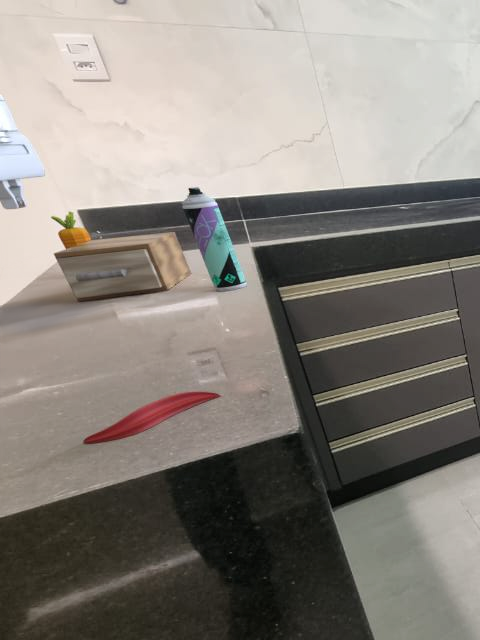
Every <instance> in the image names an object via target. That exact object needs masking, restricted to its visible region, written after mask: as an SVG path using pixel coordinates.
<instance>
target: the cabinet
mask: <svg viewBox="0 0 480 640" xmlns="http://www.w3.org/2000/svg"><path fill="white" fill-rule="evenodd" d="M135 249H147V252H148V254H149V256H150V259H151V261H152V263H153V266H154V268H155V270H156V272H157V275H158V277H159V279H160V282H161V284H162V287H160V288H152V289H145V290H137V291H129V292H122V293H114V294H106V295H98V296H91V297H83V298H76V296H75V294H74V292H73V290H72V288H71V286H70V284H69V282H68V280H67V278H66V276H65V275H64V277H65V279H66V281H67V283H68V286H69V287H70V289H71V291H72V293H73V295H74V297H75V299H76V302H78V303H80V302H86V301H87V302H88V301H95V300H102V299H108V298H109V299H110V297H111V298H118V297H117V296H119V297H124V296H123V295H126V296H132V295H131V294H134V295H141V294H140V293H142V294H149V293H156V292H164V291H169V290H171V289H172V288H173V287H175V286H176V285H178V284H179V283H180V282H182V281H184V280H185V279H187V278H188V277H189V276H190V275H192V272H191V271H192V270H191V269H190V267H189V264H188V261H187V259H186V257H185V254H184V252H183V248H182V247H181V245H180V242H179V239H178V237H177V234H176V232H175V231H171V232H170V231H169V232H160V233H150V234H139V235H131V236H121V237H109V238H101V239H91V241H88V242H86V243H83V244H80V245H77V246H74V247H71V248H68V249H66V248H65V249H63V250H60V251H57V252H54V253H53V256H54V257H55V259H56V261H57V259H59V258H64V257H72V256H79V255H89V254H98V253H107V252H117V251H126V250H135ZM57 263H58V261H57ZM187 276H188V277H187ZM184 278H185V279H184ZM181 280H182V281H181ZM179 281H180V282H179ZM178 282H179V283H178ZM175 284H176V285H175ZM174 285H175V286H174ZM171 287H172V288H171ZM168 289H169V290H168Z"/></svg>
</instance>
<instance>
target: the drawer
mask: <svg viewBox="0 0 480 640" xmlns="http://www.w3.org/2000/svg"><path fill="white" fill-rule="evenodd" d="M56 261H58V262H57V263H58V266H59V268H60V269H61V271H62V273H63V275H64V277H65V276H66V277H65V279H66V278H67V279H66V281H67V280H68V281H67V283H68V282H69V283H68V285H69V284H70V285H69V287H70V286H71V287H70V289H71V288H72V289H71V291H72V290H73V291H72V293H73V292H74V293H73V295H74V294H75V295H74V297H75V296H76V297H75V299H76V298H83V297H91V296H98V295H106V294H114V293H122V292H129V291H137V290H145V289H152V288H160V287H162V284H161V282H160V279H159V277H158V275H157V272H156V270H155V268H154V266H153V263H152V261H151V259H150V256H149V254H148V252H147V249H135V250H126V251H117V252H107V253H98V254H89V255H79V256H72V257H64V258H59V259H57V260H56Z"/></svg>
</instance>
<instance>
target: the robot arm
mask: <svg viewBox="0 0 480 640" xmlns="http://www.w3.org/2000/svg"><path fill="white" fill-rule="evenodd" d="M45 176H46V170H45V166H44V165H43V163H42V161H41V159H40V156H39V155H38V152H36V150H35V147H34V145H33V144H32V142H31V141H30V140H29V138H28V137H27V136H26V135H25V134H23V133H21V132H20V131H19V128H18V126H17V124H16V122H15V120H14V118H13V115H12V112H11V111H10V109H9V106H8V104H7V102H6V100H5V98H4V97H3V96H2V94H1V93H0V203H1V206H2V208H3V209H5V210H17V209H22V208H26V207H27V206H28V204H27V202H26V200H25V197H24V184H23V182H22V181H21V180H23V179H33V178H42V177H45Z"/></svg>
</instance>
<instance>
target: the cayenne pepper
mask: <svg viewBox="0 0 480 640" xmlns="http://www.w3.org/2000/svg"><path fill="white" fill-rule="evenodd" d="M220 397H222V395H220V394H219V393H216V392H211V391H210V392H209V391H187V392H186V391H185V392H180V393H176V394H171V395H168V396H166V397H163V398H160V399H158V400H155V401H152V402H150V403H147V404H146V405H144V406H141V407H139V408H138V409H136V410H134V411H132V412H130V413H129V414H127V415H126V416H125V417H123V418H122V419H120V420H118V421H117V422H116V423H114V424H112V425H110V426H108V427H107V428H104V429H102V430H100V431H98V432H95V433H93V434H91V435H88V436H87V437H86V438H84V440H83V441H82V443H83V444H96V443H103V442H109V441H114V440H118V439H122V438H123V439H124V438H127V437H130V436H133V435H136V434H139V433H142V432H144V431H146V430H147V431H148V430H149V429H150V428H153V427H155V426H157V425H158V424H160V423H161V422H163V421H165V420H167V419H169V418H171V417H173V416H175V415H177V414H180V413H181V412H184V411H186V410H188V409H191V408H193V407H196V406H198V405H200V404H202V403H205V402H208V401H210V400H213V399H217V398H220Z"/></svg>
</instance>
